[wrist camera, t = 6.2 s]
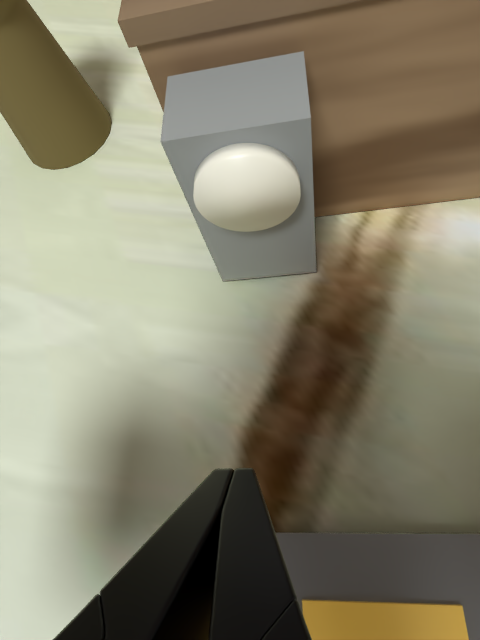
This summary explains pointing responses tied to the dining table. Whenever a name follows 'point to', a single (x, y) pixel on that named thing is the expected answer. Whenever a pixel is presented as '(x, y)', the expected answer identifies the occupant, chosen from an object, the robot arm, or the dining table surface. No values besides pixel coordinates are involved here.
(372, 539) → the card
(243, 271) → the button
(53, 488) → the dining table surface
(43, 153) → the cork
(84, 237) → the dining table surface
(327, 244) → the dining table surface
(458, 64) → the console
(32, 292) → the dining table surface
